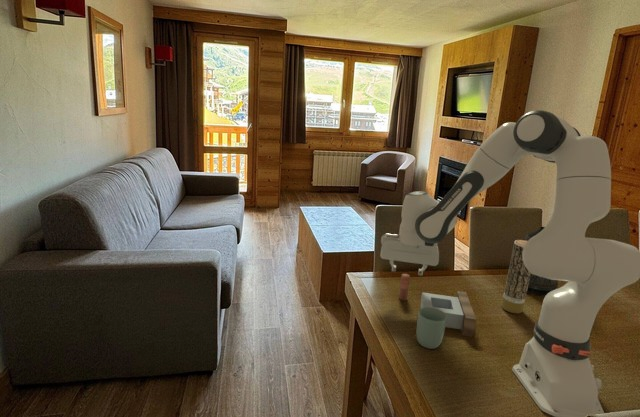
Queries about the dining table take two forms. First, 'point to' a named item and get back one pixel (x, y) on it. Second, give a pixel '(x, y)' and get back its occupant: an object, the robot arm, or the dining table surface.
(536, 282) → the beer stein
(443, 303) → the holed block
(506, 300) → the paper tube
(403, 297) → the sausage
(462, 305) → the walnut wall
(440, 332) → the cup
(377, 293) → the dining table surface
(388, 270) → the dining table surface
